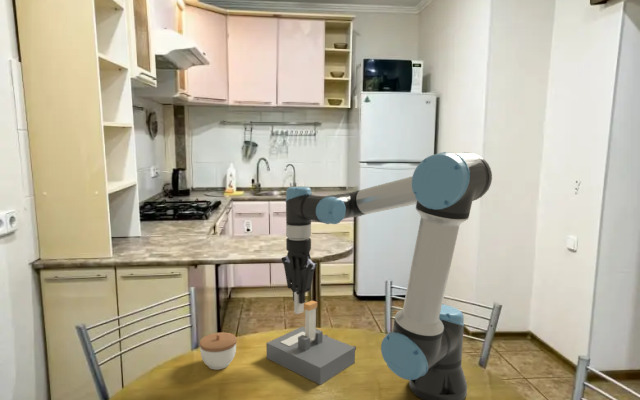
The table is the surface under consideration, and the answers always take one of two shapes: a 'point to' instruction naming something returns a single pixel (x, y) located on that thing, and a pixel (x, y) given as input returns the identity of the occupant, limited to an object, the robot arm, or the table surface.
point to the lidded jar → (218, 349)
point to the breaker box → (311, 355)
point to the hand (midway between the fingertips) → (298, 312)
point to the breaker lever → (310, 319)
